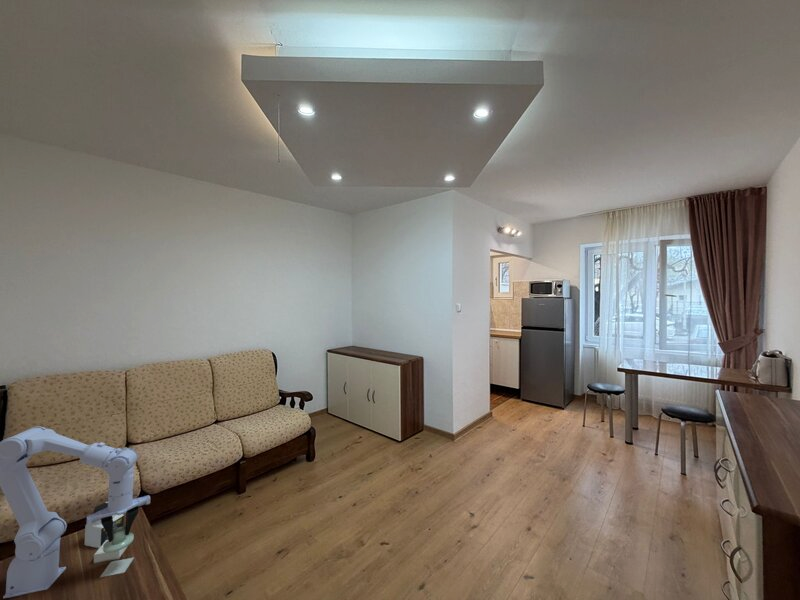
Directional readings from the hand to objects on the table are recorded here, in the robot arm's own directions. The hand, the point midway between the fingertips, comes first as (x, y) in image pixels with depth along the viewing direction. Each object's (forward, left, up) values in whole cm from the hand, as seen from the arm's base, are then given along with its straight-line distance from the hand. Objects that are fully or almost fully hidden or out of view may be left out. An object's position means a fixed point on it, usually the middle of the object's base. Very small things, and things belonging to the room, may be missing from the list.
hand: (118, 536), depth 96 cm
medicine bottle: (-10, +15, -10) cm, 21 cm away
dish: (-4, +7, -9) cm, 12 cm away
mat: (0, 0, -9) cm, 9 cm away
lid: (0, 0, -2) cm, 2 cm away
